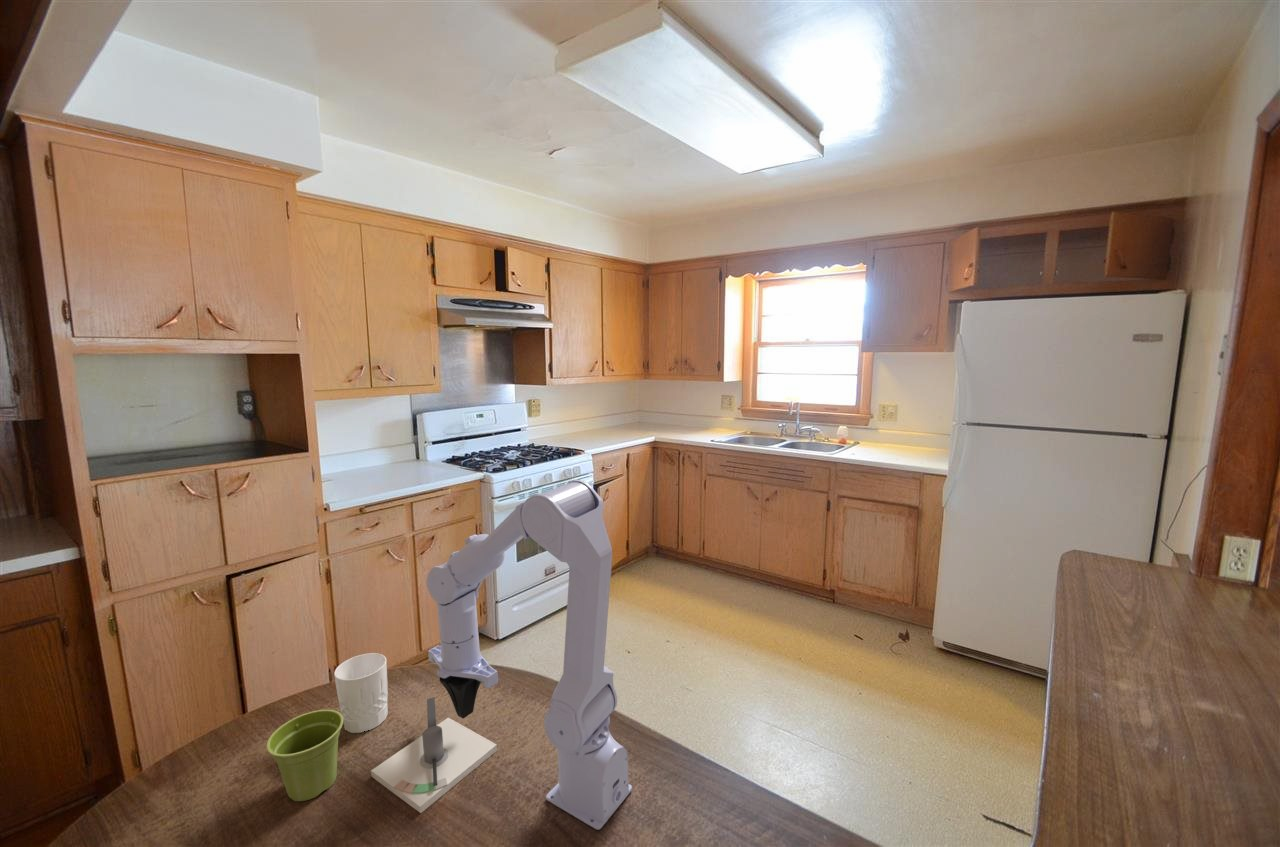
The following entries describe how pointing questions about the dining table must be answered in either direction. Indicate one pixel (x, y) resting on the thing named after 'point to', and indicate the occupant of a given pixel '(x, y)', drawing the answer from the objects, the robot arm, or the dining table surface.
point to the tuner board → (415, 775)
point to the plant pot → (307, 752)
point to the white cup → (362, 691)
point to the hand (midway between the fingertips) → (465, 713)
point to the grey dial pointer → (432, 739)
